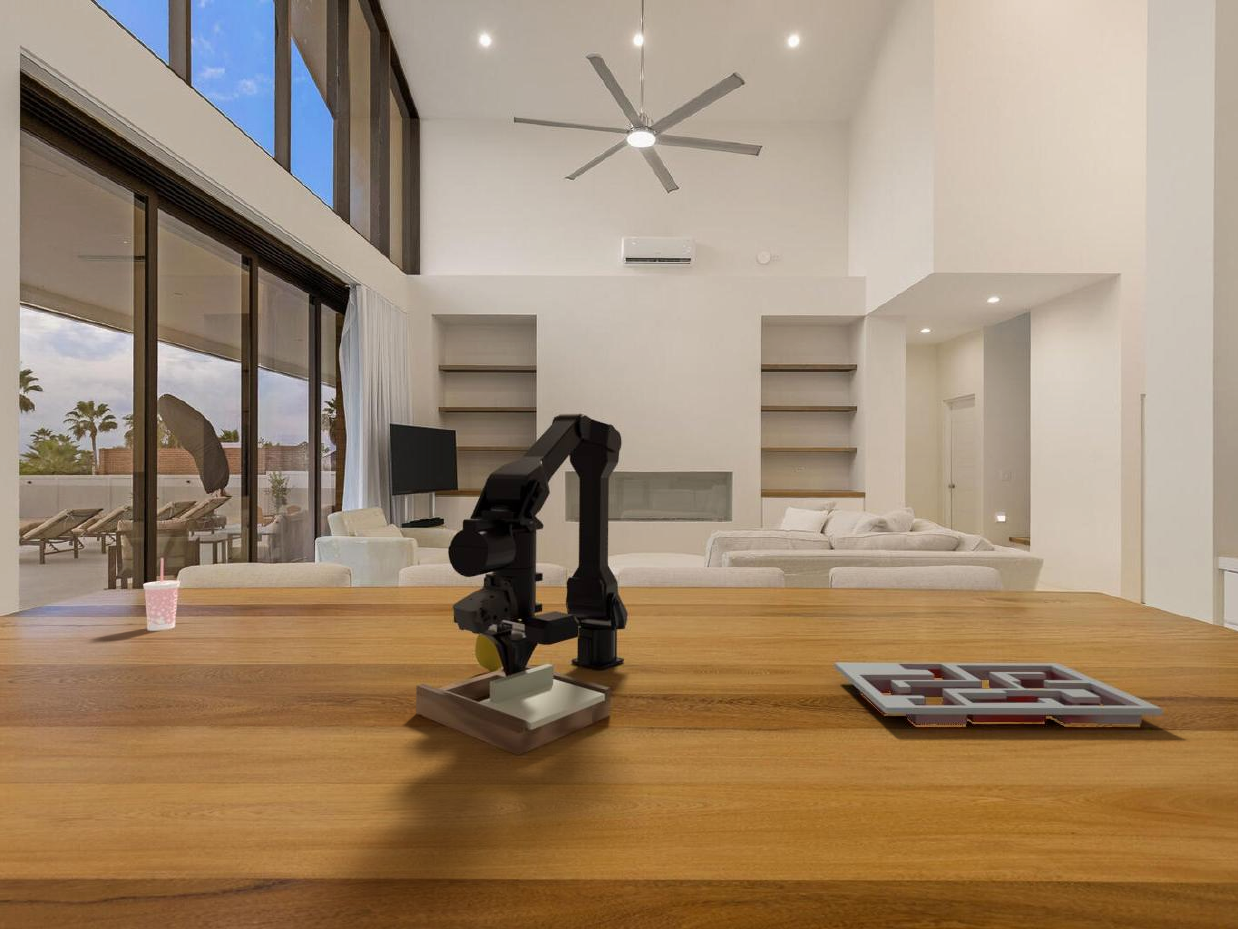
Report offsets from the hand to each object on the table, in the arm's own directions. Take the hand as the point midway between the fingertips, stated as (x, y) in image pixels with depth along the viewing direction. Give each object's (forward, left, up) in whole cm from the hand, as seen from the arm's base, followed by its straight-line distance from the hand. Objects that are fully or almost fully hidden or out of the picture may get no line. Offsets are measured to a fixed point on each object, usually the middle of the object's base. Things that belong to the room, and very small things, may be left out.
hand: (513, 684), depth 88 cm
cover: (0, +5, -1) cm, 6 cm away
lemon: (-10, -16, -4) cm, 19 cm away
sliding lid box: (0, 0, -4) cm, 4 cm away
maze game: (-46, +47, -5) cm, 65 cm away
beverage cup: (+14, -89, -4) cm, 90 cm away
